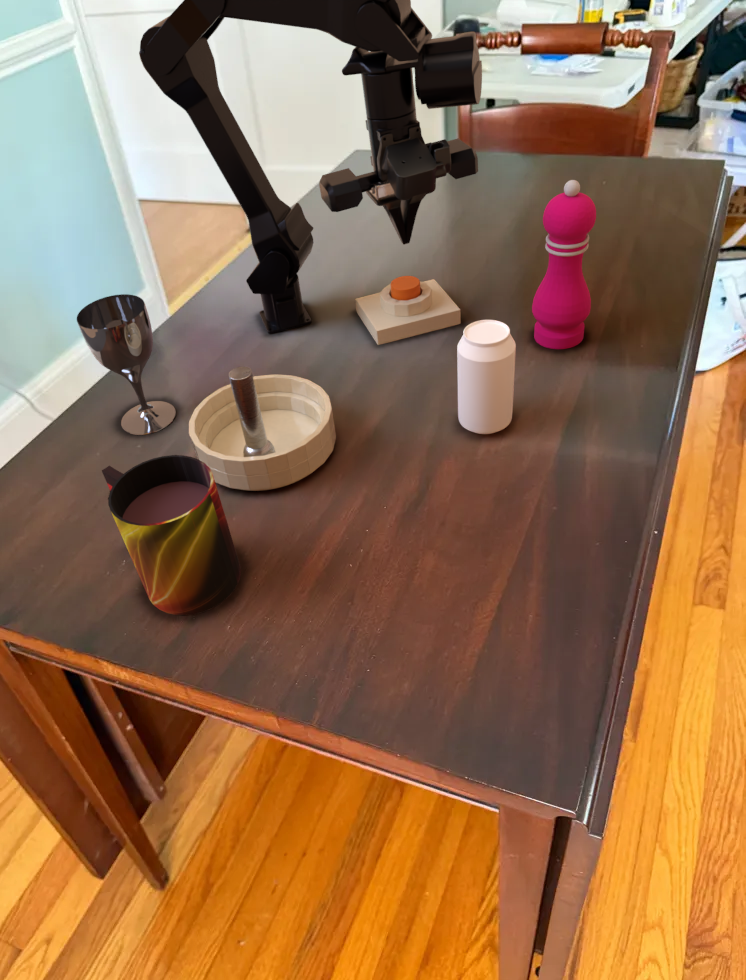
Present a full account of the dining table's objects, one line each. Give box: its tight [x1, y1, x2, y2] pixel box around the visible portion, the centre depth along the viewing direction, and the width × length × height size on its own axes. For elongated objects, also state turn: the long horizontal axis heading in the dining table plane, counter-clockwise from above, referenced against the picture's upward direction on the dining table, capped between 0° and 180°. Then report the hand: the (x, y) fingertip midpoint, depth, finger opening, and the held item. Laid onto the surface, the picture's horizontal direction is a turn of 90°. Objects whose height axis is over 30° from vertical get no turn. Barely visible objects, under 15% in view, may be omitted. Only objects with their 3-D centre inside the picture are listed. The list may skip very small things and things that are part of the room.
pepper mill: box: [531, 179, 597, 350], centre depth 95 cm, size 7×7×20 cm
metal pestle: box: [228, 366, 275, 457], centre depth 84 cm, size 4×4×12 cm
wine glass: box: [76, 293, 177, 436], centre depth 95 cm, size 8×8×15 cm
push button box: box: [354, 278, 462, 346], centre depth 109 cm, size 10×12×4 cm
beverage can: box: [456, 319, 517, 435], centre depth 87 cm, size 6×6×12 cm
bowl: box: [188, 373, 337, 492], centre depth 91 cm, size 16×17×5 cm
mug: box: [101, 454, 242, 616], centre depth 75 cm, size 10×14×12 cm
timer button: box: [390, 275, 421, 300], centre depth 107 cm, size 4×4×2 cm
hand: (405, 242), depth 101 cm, fingers closed
